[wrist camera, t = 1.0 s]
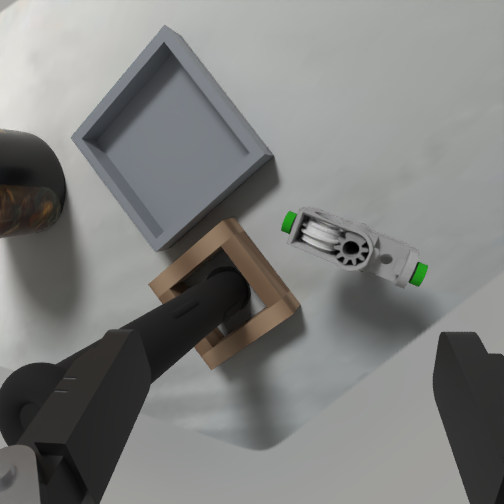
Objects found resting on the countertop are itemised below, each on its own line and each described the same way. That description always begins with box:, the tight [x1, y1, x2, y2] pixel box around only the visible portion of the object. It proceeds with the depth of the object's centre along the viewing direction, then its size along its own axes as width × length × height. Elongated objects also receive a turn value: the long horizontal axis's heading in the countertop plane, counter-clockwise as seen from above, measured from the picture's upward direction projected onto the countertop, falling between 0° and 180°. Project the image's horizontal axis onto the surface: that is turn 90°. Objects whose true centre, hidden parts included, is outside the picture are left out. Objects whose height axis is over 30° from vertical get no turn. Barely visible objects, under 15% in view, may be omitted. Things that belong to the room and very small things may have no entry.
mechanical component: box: [281, 207, 428, 288], centre depth 32 cm, size 3×10×10 cm, turn 71°
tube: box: [0, 267, 250, 446], centre depth 31 cm, size 25×6×6 cm
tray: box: [71, 25, 274, 252], centre depth 40 cm, size 15×15×3 cm
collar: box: [148, 217, 300, 370], centre depth 41 cm, size 11×11×3 cm
